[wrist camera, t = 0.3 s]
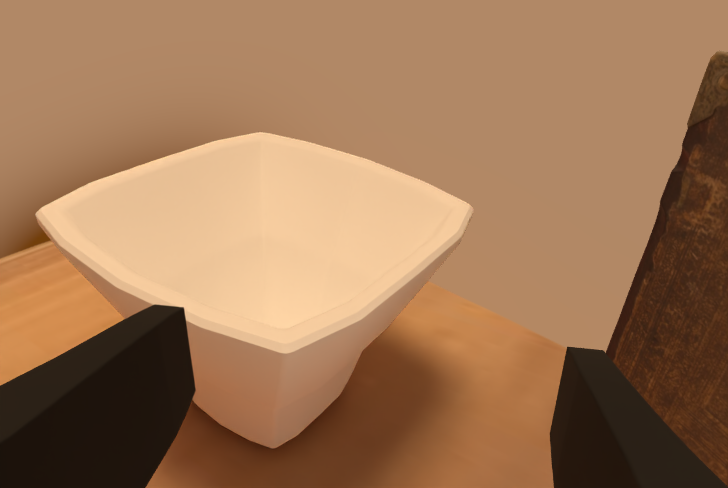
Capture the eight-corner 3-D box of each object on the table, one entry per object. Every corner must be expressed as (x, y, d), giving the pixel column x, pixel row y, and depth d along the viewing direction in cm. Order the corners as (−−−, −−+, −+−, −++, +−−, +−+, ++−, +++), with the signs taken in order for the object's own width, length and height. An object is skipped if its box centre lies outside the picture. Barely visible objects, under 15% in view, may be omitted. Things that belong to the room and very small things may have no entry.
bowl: (46, 414, 37) (-5, 211, 30) (263, 280, 51) (263, 122, 44) (278, 601, 28) (283, 380, 21) (461, 379, 43) (500, 202, 36)
